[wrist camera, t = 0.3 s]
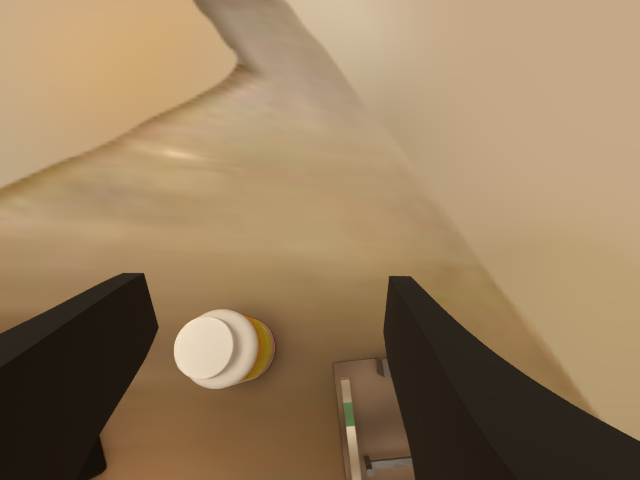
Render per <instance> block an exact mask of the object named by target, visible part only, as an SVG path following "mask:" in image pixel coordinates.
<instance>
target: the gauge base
mask: <svg viewBox="0 0 640 480" xmlns="http://www.w3.org/2000/svg"><path fill="white" fill-rule="evenodd" d="M333 365H334V374H335V383H336V393H337V402H338V411H339V420H340V429H341V438H342V447H343V456H344V465H345V474H346V480H415V476H414V470H413V466H404V467H395V468H385V469H376V470H373V476H368V475H367V471H366V467H365V463H364V456H368V455H369V458H370V460H378V459H388V458H397V457H407V456H411V453H410V448H409V444H408V439H407V435H406V431H405V427H404V424H403V420H402V416H401V412H400V408H399V405H398V401H397V397H396V393H395V389H394V385H393V381H392V378H391V374H390V370H389V366H388V361H387V357H382V358H373V359H364V360H355V361H346V362H337V363H333Z"/></svg>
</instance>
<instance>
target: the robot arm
mask: <svg viewBox="0 0 640 480" xmlns="http://www.w3.org/2000/svg"><path fill="white" fill-rule="evenodd" d="M158 328H159V327H158V323H157V320H156V316H155V312H154V309H153V305H152V301H151V298H150V294H149V290H148V286H147V283H146V279H145V275H144V273H122V274H120V275H117V276H115V277H113V278H110V279H108V280H106V281H104V282H102V283H100V284H98V285H96V286H94V287H92V288H90V289H88V290H86V291H84V292H83V293H81V294H79V295H77V296H75V297H73V298H71V299H69V300H67V301H65V302H63V303H61V304H59V305H58V306H56V307H54V308H52V309H50V310H48V311H46V312H44V313H42V314H40V315H38V316H36V317H34V318H32V319H30V320H28V321H25V322H23V323H21V324H19V325H17V326H15V327H13V328H11V329H9V330H7V331H5V332H3V333H1V334H0V480H76V479H77V477H78V475H79V473H80V471H81V469H82V467H83V465H84V463H85V461H86V459H87V457H88V455H89V453H90V451H91V449H92V447H93V445H94V443H95V442H96V440H97V438H98V436H99V434H100V433H101V431H102V429H103V428H104V426H105V424H106V423H107V421H108V419H109V418H110V416H111V415H112V413H113V411H114V410H115V408H116V406H117V405H118V403H119V401H120V400H121V398H122V397H123V395H124V393H125V392H126V390H127V388H128V387H129V385H130V384H131V382H132V380H133V379H134V377H135V375H136V374H137V372H138V370H139V369H140V367H141V365H142V363H143V362H144V360H145V358H146V356H147V354H148V352H149V349H150V347H151V345H152V343H153V340H154V338H155V335H156V333H157V330H158ZM384 339H385V347H386V354H387V361H388V366H389V370H390V374H391V378H392V381H393V385H394V389H395V393H396V397H397V401H398V405H399V408H400V412H401V416H402V420H403V424H404V427H405V431H406V435H407V439H408V444H409V448H410V453H411V458H412V464H413V470H414V476H415V480H640V441H638V440H636V439H634V438H632V437H631V436H629V435H627V434H625V433H623V432H621V431H619V430H618V429H616V428H614V427H612V426H610V425H608V424H607V423H605V422H603V421H601V420H599V419H597V418H595V417H594V416H592V415H590V414H589V413H587V412H585V411H583V410H582V409H580V408H578V407H576V406H575V405H573V404H571V403H569V402H568V401H566V400H565V399H563V398H561V397H560V396H558V395H557V394H555V393H553V392H552V391H550V390H548V389H547V388H545V387H544V386H542V385H540V384H539V383H537V382H536V381H534V380H533V379H531V378H530V377H528V376H527V375H525V374H524V373H522V372H521V371H519V370H518V369H517V368H515V367H514V366H512V365H511V364H510V363H508V362H507V361H505V360H504V359H503V358H501V357H500V356H498V355H497V354H496V353H495V352H493V351H492V350H491V349H489V348H488V347H487V346H485V345H484V344H483V343H482V342H481V341H479V340H478V339H477V338H476V337H475V336H473V335H472V334H471V333H470V332H469V331H467V330H466V329H465V328H464V327H463V326H462V325H460V324H459V323H458V322H457V321H456V320H455V319H454V318H453V317H452V316H450V315H449V314H448V313H447V312H446V311H445V310H444V309H443V308H442V307H441V306H440V305H439V304H438V303H437V302H436V301H435V300H434V299H433V298H432V297H431V296H430V295H429V294H428V293H427V292H426V291H425V290H424V289H423V288H422V287H421V286H420V285H419V284H418V283H417V282H416V281H415V280H414V279H413V278H412V277H411V276H389V284H388V293H387V302H386V312H385V321H384Z"/></svg>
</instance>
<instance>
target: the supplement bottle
mask: <svg viewBox="0 0 640 480" xmlns="http://www.w3.org/2000/svg"><path fill="white" fill-rule="evenodd" d="M274 352H275V342H274V338H273V335H272V333H271V331H270V330H269V328H268V327H267V326H266V325H265V324H264V323H262V322H261V321H259V320H256V319H254V318H251V317H249V316H246V315H243V314H240V313H238V312H235V311H232V310H227V309H219V310H213V311H210V312H207V313H205V314H203V315H201V316H200V317H198V318H196V319H194V320H192V321H190V322H189V323H187V324H186V325H185V326H184V327H183V328H182V330H181V331H180V332H179V334H178V336H177V338H176V341H175V345H174V357H175V361H176V364H177V366H178V367H179V369H180V370H181V371H182V372H183V373H184V374H185V375H187V376H189V377H190V378H191V379H192V380H193V381H194V382H195V383H197V384H199V385H200V386H203V387H206V388H210V389H221V388H226V387H229V386H232V385H235V384H239V383H242V382H246V381H249V380H252V379H255V378H257V377H259V376H260V375H261V374H263V373H264V372H265V371H266V370H267V369H268V367H269V366H270V364H271V362H272V360H273V357H274Z"/></svg>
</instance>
